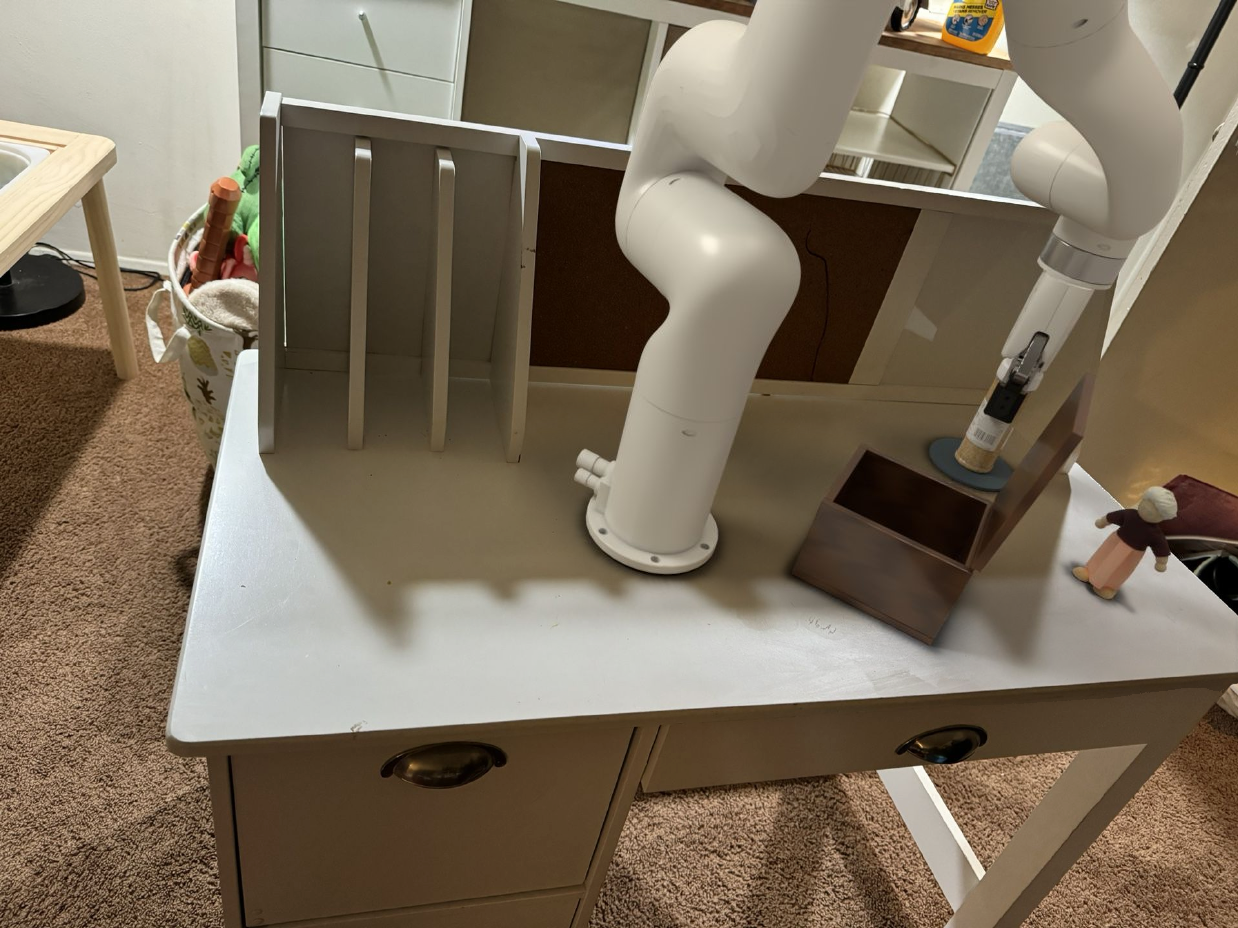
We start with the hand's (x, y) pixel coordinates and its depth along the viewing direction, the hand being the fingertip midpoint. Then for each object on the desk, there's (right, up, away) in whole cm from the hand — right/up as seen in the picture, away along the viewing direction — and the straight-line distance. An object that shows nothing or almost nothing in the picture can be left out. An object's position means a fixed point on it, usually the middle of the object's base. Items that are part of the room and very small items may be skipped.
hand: (1001, 407), depth 99 cm
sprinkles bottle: (-1, -7, +5) cm, 8 cm away
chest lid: (-10, -7, -27) cm, 29 cm away
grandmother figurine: (+6, -19, -10) cm, 22 cm away
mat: (-2, -7, +5) cm, 8 cm away
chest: (-19, -17, -15) cm, 29 cm away
